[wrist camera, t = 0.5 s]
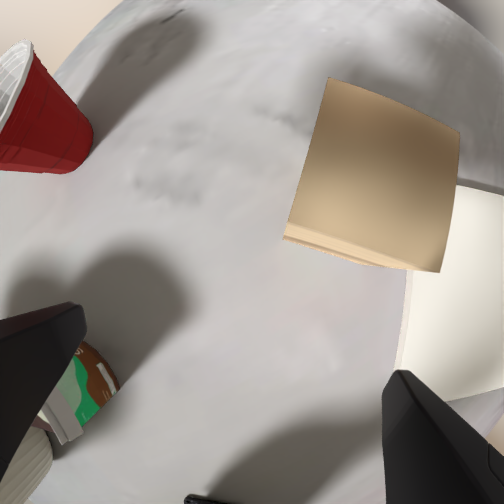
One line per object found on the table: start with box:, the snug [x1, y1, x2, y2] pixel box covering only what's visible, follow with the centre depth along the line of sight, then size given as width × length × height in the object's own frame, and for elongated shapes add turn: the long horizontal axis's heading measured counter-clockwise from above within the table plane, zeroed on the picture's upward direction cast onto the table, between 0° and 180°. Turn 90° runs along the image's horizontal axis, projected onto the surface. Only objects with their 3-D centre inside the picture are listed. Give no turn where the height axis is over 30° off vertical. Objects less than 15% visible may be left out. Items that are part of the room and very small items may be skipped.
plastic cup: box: [0, 39, 93, 174], centre depth 16 cm, size 11×11×12 cm
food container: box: [31, 341, 120, 445], centre depth 17 cm, size 12×6×10 cm, turn 99°
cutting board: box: [393, 185, 504, 402], centre depth 18 cm, size 18×14×1 cm
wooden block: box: [283, 77, 460, 273], centre depth 15 cm, size 6×6×11 cm
